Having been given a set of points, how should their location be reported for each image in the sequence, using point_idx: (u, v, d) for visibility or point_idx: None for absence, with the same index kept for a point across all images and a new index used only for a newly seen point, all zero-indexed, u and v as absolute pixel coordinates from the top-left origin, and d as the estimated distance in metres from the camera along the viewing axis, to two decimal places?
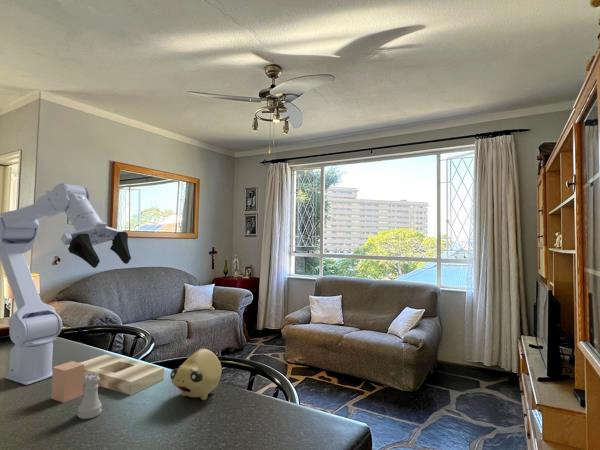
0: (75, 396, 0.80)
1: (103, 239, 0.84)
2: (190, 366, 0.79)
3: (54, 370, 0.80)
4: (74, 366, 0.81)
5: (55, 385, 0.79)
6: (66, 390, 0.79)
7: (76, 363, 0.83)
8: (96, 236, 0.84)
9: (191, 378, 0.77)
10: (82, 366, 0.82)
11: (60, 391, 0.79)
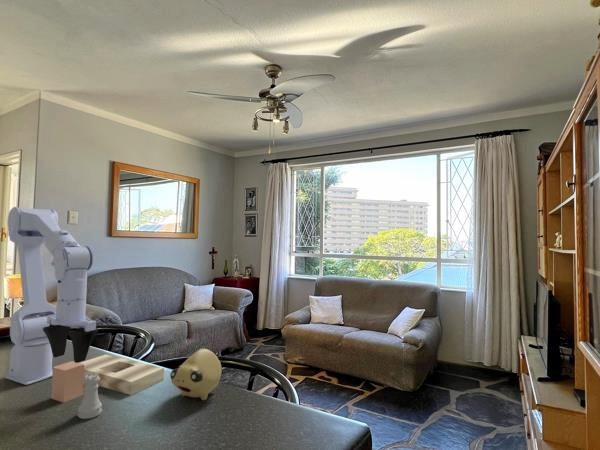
0: (75, 396, 0.80)
1: None
2: (190, 366, 0.79)
3: (54, 370, 0.80)
4: (74, 366, 0.81)
5: (55, 385, 0.79)
6: (66, 390, 0.79)
7: (76, 363, 0.83)
8: None
9: (191, 378, 0.77)
10: (82, 366, 0.82)
11: (60, 391, 0.79)
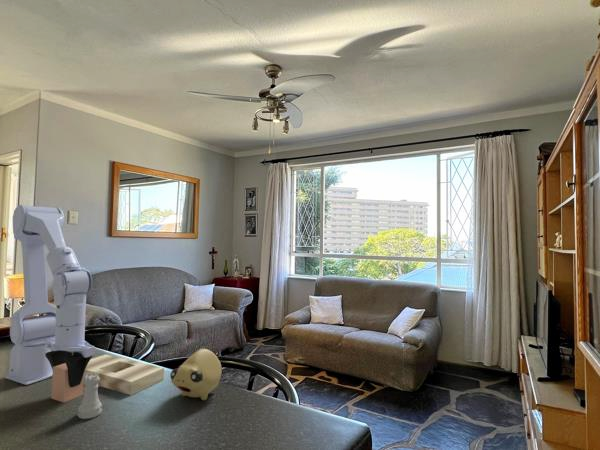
0: (75, 396, 0.80)
1: None
2: (190, 366, 0.79)
3: (54, 370, 0.80)
4: None
5: (55, 385, 0.79)
6: (66, 390, 0.79)
7: None
8: None
9: (191, 378, 0.77)
10: None
11: (60, 391, 0.79)
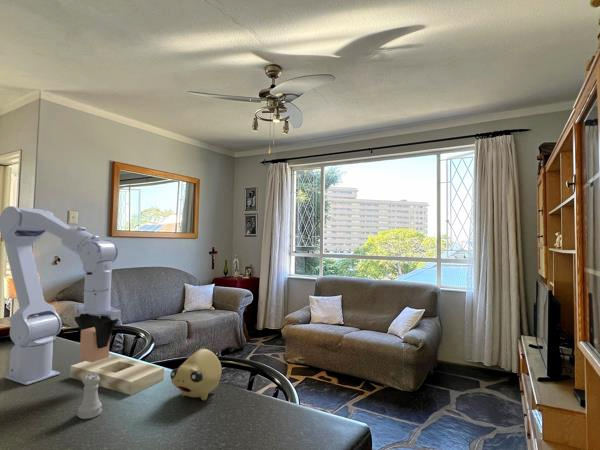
0: (102, 357, 0.86)
1: None
2: (190, 366, 0.79)
3: (82, 333, 0.85)
4: None
5: (84, 347, 0.85)
6: (94, 351, 0.84)
7: None
8: None
9: (191, 378, 0.77)
10: None
11: (88, 352, 0.84)
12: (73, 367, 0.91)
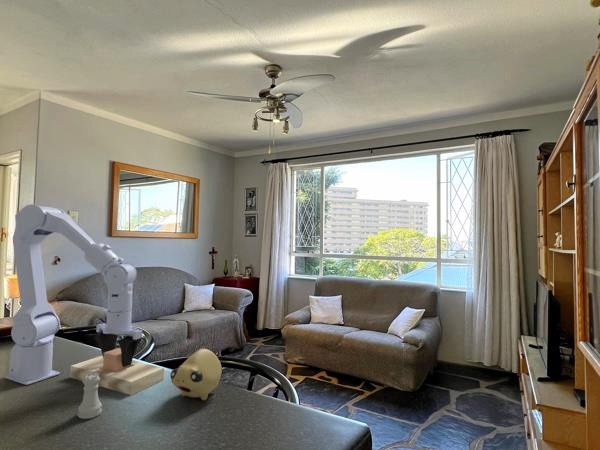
0: None
1: (121, 335, 0.91)
2: (190, 366, 0.79)
3: (105, 355, 0.90)
4: None
5: (106, 369, 0.90)
6: None
7: None
8: None
9: (191, 378, 0.77)
10: None
11: None
12: (73, 367, 0.91)
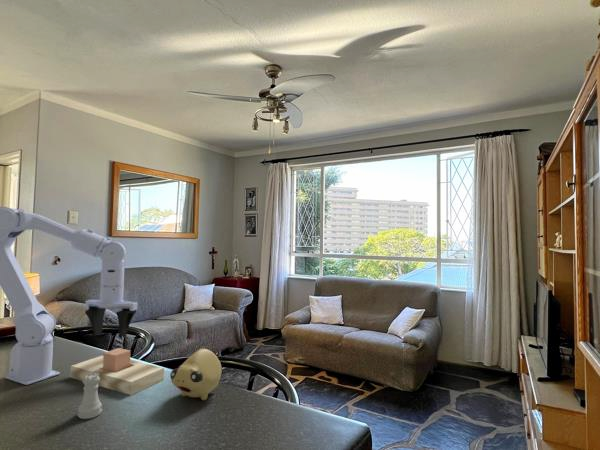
0: None
1: (115, 308, 0.97)
2: (190, 366, 0.79)
3: (105, 355, 0.90)
4: (122, 352, 0.91)
5: (106, 369, 0.90)
6: None
7: (123, 349, 0.93)
8: None
9: (191, 378, 0.77)
10: (129, 352, 0.92)
11: None
12: (73, 367, 0.91)
